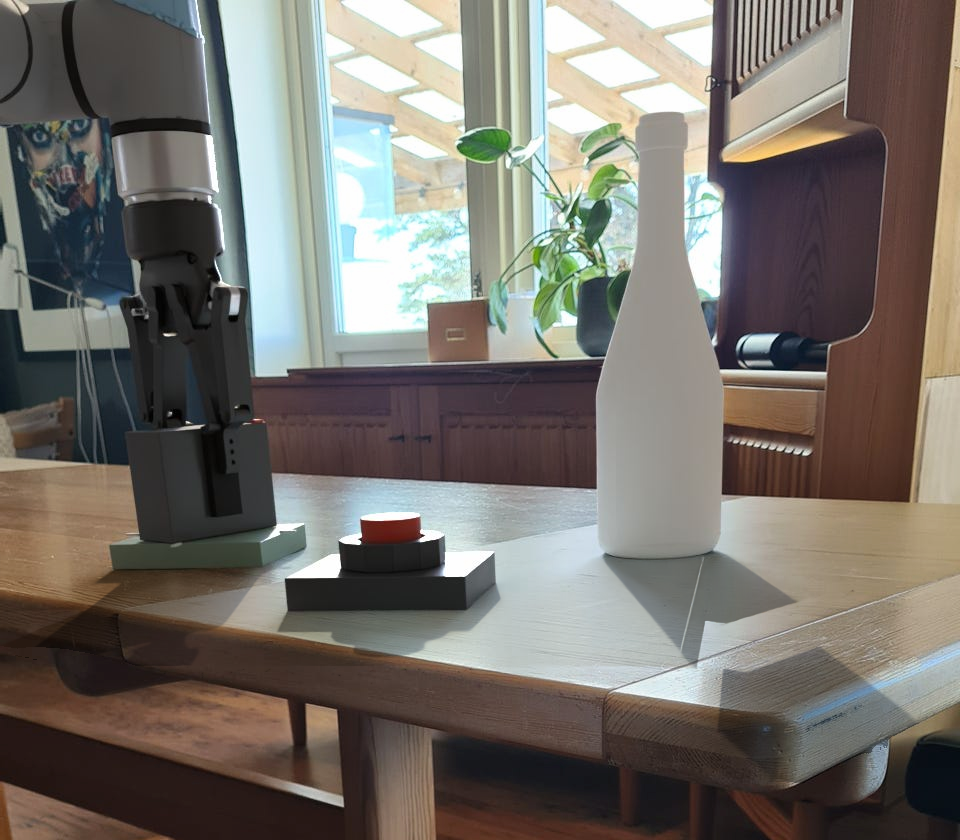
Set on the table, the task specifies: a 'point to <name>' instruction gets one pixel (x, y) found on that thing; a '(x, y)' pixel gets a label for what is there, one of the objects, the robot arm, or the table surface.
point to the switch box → (392, 577)
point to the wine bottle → (660, 380)
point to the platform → (211, 550)
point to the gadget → (196, 484)
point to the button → (390, 527)
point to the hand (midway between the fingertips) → (207, 513)
